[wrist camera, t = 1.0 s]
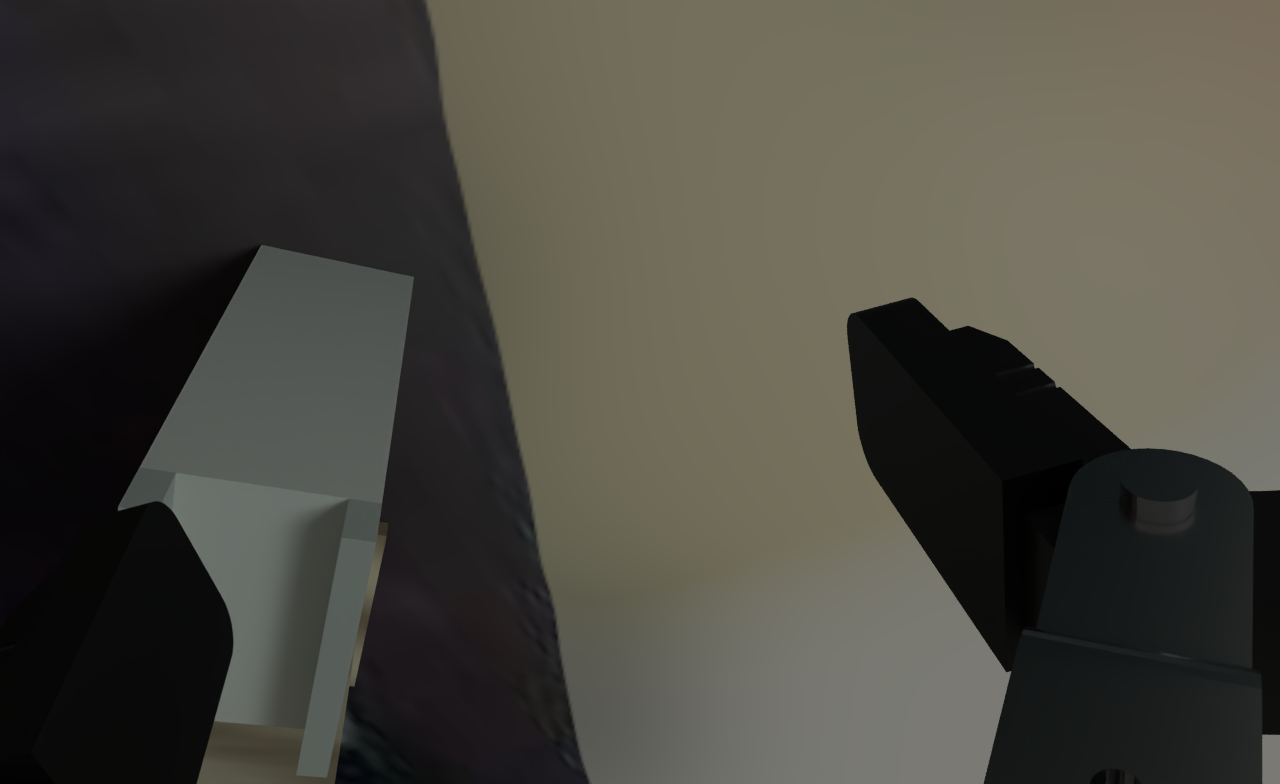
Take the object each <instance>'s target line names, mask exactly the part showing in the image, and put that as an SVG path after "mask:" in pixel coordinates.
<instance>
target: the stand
mask: <svg viewBox="0 0 1280 784" xmlns="http://www.w3.org/2000/svg"><path fill="white" fill-rule="evenodd" d="M387 529H388V523H385V522H379V527H378V534H377V541H376V546H375V551H374V556H373V560H372V565H371V570H370V575H369V579H368V584H367V589H366V594H365V598H364V603H363V608H362V613H361V617H360V622H359V627H358V632H357V636H356V641H355V646H354V651H353V655H352V660H351V665H350V670H349V674H348V679H347V684H346V689H345V693H344V698H343V703H342V708H341V712H340V717H339V722H338V727H337V732H336V736H335V741H334V746H333V751H332V755H331V760H330V765H329V770H328V774H327V778H325V777H312V776H298V775H296V773H297V768H298V762H299V757H300V752H301V747H302V742H303V736H304V731H305V729H297V728H286V727H275V726H263V725H252V724H241V723H229V722H218V721H214V723H213V727H212V730H211V734H210V738H209V741H208V745H207V749H206V752H205V756H204V759H203V763H202V767H201V770H200V774H199V777H198V781H197V784H335V777H336V770H337V764H338V757H339V750H340V744H341V737H342V730H343V724H344V717H345V710H346V704H347V697H348V690H349V686H354V685H355V681H356V676H357V671H358V667H359V662H360V657H361V653H362V648H363V643H364V639H365V634H366V630H367V625H368V620H369V616H370V611H371V606H372V602H373V597H374V592H375V588H376V583H377V578H378V574H379V569H380V565H381V560H382V555H383V551H384V546H385V541H386V537H387Z"/></svg>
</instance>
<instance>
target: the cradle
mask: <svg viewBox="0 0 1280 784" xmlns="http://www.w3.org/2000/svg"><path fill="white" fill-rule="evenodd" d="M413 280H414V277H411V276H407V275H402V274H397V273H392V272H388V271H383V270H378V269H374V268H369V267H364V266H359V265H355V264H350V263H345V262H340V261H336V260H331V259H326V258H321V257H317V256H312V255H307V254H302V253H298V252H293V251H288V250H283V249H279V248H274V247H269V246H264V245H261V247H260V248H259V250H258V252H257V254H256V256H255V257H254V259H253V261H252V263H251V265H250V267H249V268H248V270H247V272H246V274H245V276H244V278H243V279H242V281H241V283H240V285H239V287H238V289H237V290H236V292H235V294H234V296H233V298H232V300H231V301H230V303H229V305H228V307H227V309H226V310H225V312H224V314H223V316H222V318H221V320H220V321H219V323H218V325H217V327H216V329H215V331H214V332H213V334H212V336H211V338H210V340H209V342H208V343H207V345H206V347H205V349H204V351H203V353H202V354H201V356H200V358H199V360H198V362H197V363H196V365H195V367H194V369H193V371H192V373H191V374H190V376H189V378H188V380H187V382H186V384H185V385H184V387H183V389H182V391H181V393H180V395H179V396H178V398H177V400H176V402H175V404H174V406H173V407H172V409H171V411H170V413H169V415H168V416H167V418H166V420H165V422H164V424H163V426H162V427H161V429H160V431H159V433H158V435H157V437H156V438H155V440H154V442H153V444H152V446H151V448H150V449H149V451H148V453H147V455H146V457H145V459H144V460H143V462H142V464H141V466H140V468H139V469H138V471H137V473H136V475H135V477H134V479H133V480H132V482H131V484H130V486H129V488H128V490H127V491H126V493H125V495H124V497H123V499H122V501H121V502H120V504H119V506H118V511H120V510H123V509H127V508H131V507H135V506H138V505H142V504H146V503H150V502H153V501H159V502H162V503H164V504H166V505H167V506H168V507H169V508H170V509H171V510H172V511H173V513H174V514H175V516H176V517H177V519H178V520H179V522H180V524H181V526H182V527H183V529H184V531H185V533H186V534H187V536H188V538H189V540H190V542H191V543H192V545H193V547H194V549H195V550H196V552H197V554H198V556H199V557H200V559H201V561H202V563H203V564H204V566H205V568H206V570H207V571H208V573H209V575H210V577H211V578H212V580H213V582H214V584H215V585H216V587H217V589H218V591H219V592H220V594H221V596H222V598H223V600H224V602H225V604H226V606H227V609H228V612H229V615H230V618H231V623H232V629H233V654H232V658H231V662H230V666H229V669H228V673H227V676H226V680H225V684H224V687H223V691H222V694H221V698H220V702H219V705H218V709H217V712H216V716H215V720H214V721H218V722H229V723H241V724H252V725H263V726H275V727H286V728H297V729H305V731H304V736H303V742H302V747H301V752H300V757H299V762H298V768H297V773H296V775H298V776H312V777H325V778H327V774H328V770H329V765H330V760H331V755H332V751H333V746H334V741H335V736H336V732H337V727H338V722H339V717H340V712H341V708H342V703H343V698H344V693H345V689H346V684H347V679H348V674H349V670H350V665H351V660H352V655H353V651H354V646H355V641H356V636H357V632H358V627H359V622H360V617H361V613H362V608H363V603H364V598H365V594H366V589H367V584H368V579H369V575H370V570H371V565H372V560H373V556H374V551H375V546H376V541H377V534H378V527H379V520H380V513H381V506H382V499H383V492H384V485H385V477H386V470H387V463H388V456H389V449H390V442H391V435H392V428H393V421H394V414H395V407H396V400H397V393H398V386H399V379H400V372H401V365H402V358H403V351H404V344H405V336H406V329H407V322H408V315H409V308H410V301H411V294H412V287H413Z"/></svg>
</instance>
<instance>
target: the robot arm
mask: <svg viewBox="0 0 1280 784" xmlns="http://www.w3.org/2000/svg"><path fill="white" fill-rule="evenodd" d="M847 335H848V345H849V353H850V362H851V371H852V380H853V389H854V399H855V408H856V415H857V425H858V431H859V436H860V440H861V444H862V447H863V451H864V454H865V457H866V460H867V462H868V464H869V467H870V469H871V471H872V473H873V475H874V476H875V478H876V480H877V481H878V483H879V484H880V486H881V487H882V488H883V490H884V492H885V493H886V494H887V496H888V497H889V499H890V500H891V502H892V503H893V505H894V506H895V508H896V509H897V511H898V512H899V514H900V515H901V517H902V518H903V519H904V521H905V523H906V524H907V526H908V527H909V528H910V530H911V532H912V533H913V534H914V536H915V537H916V539H917V540H918V542H919V543H920V544H921V546H922V548H923V549H924V551H925V552H926V554H927V555H928V557H929V558H930V559H931V561H932V563H933V564H934V565H935V567H936V568H937V570H938V572H939V573H940V574H941V576H942V577H943V579H944V580H945V582H946V583H947V585H948V586H949V588H950V589H951V591H952V592H953V593H954V595H955V597H956V598H957V600H958V601H959V603H960V604H961V605H962V607H963V609H964V610H965V611H966V613H967V614H968V616H969V617H970V619H971V620H972V622H973V623H974V625H975V626H976V628H977V629H978V630H979V632H980V634H981V635H982V637H983V638H984V640H985V641H986V643H987V644H988V646H989V647H990V649H991V650H992V652H993V653H994V654H995V656H996V657H997V659H998V660H999V662H1000V663H1001V665H1002V666H1003V668H1004V669H1005V671H1006V672H1009V671H1011V675H1010V679H1009V683H1008V687H1007V691H1006V695H1005V700H1004V704H1003V708H1002V712H1001V716H1000V719H999V724H998V728H997V732H996V736H995V740H994V744H993V748H992V752H991V756H990V760H989V764H988V768H987V772H986V776H985V781H984V784H1262V735H1265V734H1266V735H1267V734H1268V735H1280V490H1277V491H1248V489H1247V488H1246V487H1245V485H1244V484H1243V483H1242V482H1241V480H1239V479H1238V478H1237V477H1236V476H1235V475H1233V474H1232V473H1231V472H1230V471H1228V470H1226V469H1225V468H1223V467H1222V466H1220V465H1218V464H1216V463H1213V462H1211V461H1209V460H1207V459H1204V458H1201V457H1198V456H1195V455H1192V454H1187V453H1183V452H1179V451H1172V450H1166V449H1150V448H1147V449H1130V448H1129V447H1128V446H1127V445H1126V444H1125V443H1124V442H1122V441H1121V440H1120V439H1119V438H1118V437H1117V436H1116V435H1114V434H1113V433H1112V432H1111V431H1110V430H1109V429H1108V428H1106V427H1105V426H1104V425H1103V424H1102V423H1101V422H1100V421H1099V420H1097V419H1096V418H1095V417H1094V416H1093V415H1092V414H1090V413H1089V412H1088V411H1087V410H1086V409H1085V408H1084V407H1083V406H1081V405H1080V404H1079V403H1078V402H1077V401H1076V400H1075V399H1073V398H1072V397H1071V396H1070V395H1069V394H1068V393H1067V392H1065V391H1064V390H1063V389H1062V388H1061V387H1058V388H1056V386H1055V382H1054V381H1053V380H1052V379H1051V378H1049V376H1047V375H1046V374H1045V373H1044V372H1043V371H1041V369H1039V368H1036V369H1035V368H1034V363H1033V362H1031V361H1030V360H1029V359H1028V358H1027V357H1026V356H1025V355H1023V354H1022V353H1021V352H1020V351H1019V350H1018V349H1017V348H1015V347H1014V346H1013V345H1012V344H1011V343H1010V342H1009V341H1007V340H1005V339H1002V338H999V337H997V336H994V335H991V334H989V333H986V332H984V331H981V330H978V329H975V328H973V327H970V326H965V327H962V328H958V329H955V330H951V331H949V330H948V329H947V328H946V327H945V326H944V325H943V324H942V323H941V322H940V321H939V320H938V319H937V318H936V317H934V315H932V313H930V312H929V311H928V310H927V309H926V308H925V307H924V306H923V305H922V304H921V303H920V302H919V301H918V300H917V299H915V298H908V299H904V300H901V301H897V302H893V303H889V304H886V305H883V306H878V307H874V308H871V309H867V310H863V311H859V312H856V313H852V314H851V315H850V316H849V318H848V322H847ZM232 654H233V629H232V623H231V618H230V615H229V612H228V609H227V606H226V604H225V602H224V600H223V598H222V596H221V594H220V592H219V591H218V589H217V587H216V585H215V584H214V582H213V580H212V578H211V577H210V575H209V573H208V571H207V570H206V568H205V566H204V564H203V563H202V561H201V559H200V557H199V556H198V554H197V552H196V550H195V549H194V547H193V545H192V543H191V542H190V540H189V538H188V536H187V534H186V533H185V531H184V529H183V527H182V526H181V524H180V522H179V520H178V519H177V517H176V516H175V514H174V513H173V511H172V510H171V509H170V508H169V507H168V506H167V505H166V504H164V503H162V502H159V501H153V502H150V503H146V504H142V505H138V506H135V507H131V508H127V509H123V510H120V511H116V512H112V513H108V514H105V515H101V516H97V517H93V518H90V519H88V520H87V521H85V522H84V523H83V525H82V526H81V528H80V529H79V531H78V533H77V535H76V537H75V538H74V540H73V542H72V544H71V546H70V547H69V549H68V551H67V553H66V555H65V556H64V558H63V560H62V562H61V564H60V565H59V567H58V569H57V571H56V573H53V574H49V575H48V576H47V577H46V578H45V579H44V580H43V581H42V582H41V583H40V584H39V585H38V586H37V587H36V588H35V589H34V590H33V591H32V592H31V593H30V594H29V595H28V596H27V597H26V598H25V599H24V600H23V601H22V602H21V603H20V604H19V605H18V606H17V607H16V608H15V609H14V610H13V611H12V612H11V614H10V616H9V617H8V619H7V621H6V623H5V624H4V626H3V628H2V629H1V631H0V784H197V781H198V777H199V774H200V770H201V767H202V763H203V759H204V756H205V752H206V749H207V745H208V741H209V738H210V734H211V730H212V727H213V723H214V720H215V716H216V712H217V709H218V705H219V702H220V698H221V694H222V691H223V687H224V684H225V680H226V676H227V673H228V669H229V666H230V662H231V658H232Z"/></svg>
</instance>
